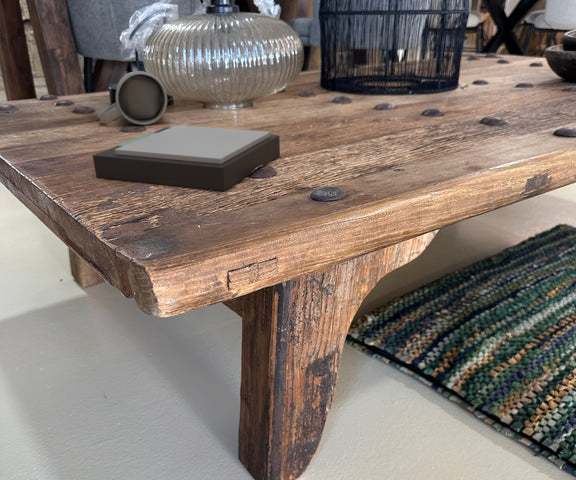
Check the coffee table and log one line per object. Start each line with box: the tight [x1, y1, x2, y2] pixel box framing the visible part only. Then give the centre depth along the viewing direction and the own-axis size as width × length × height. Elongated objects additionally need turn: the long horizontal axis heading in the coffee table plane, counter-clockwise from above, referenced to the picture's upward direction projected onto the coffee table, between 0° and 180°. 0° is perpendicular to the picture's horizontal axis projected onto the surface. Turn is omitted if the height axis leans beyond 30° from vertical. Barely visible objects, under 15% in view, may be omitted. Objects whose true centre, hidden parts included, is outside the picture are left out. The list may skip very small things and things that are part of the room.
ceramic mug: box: [97, 70, 168, 126], centre depth 89 cm, size 11×8×8 cm
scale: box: [92, 124, 281, 192], centre depth 66 cm, size 16×15×3 cm
